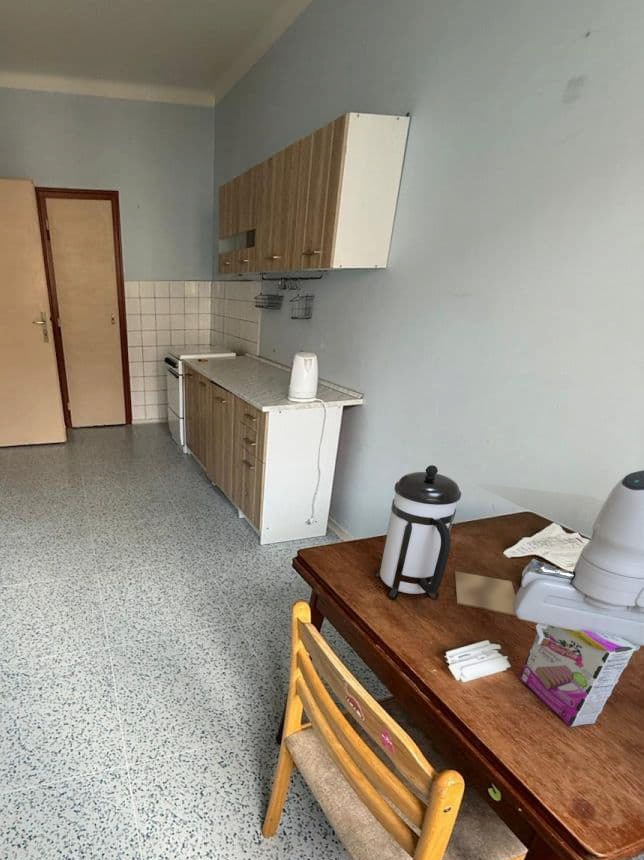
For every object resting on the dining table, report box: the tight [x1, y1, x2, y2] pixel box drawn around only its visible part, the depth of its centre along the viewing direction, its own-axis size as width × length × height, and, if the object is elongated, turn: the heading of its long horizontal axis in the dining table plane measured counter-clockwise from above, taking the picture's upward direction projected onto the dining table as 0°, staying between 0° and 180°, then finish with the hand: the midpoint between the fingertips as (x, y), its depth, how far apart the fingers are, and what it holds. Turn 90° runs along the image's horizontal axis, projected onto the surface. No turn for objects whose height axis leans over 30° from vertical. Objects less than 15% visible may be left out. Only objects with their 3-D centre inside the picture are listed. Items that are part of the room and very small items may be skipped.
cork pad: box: [454, 570, 517, 617], centre depth 108 cm, size 12×14×1 cm
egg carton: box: [521, 558, 557, 577], centre depth 110 cm, size 11×8×4 cm
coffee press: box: [373, 465, 462, 601], centre depth 103 cm, size 17×16×30 cm
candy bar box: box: [518, 625, 636, 728], centre depth 76 cm, size 11×5×16 cm, turn 9°
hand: (575, 651), depth 75 cm, fingers open, 8 cm apart
